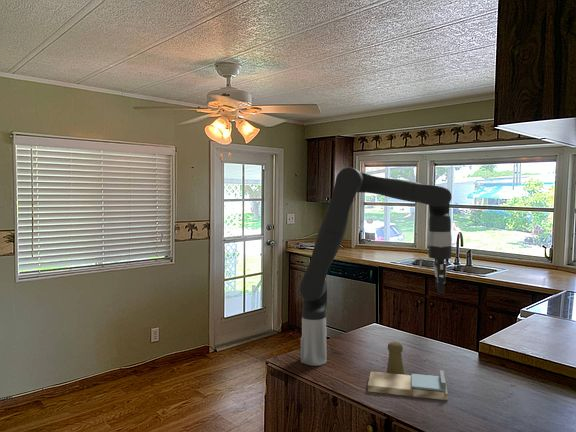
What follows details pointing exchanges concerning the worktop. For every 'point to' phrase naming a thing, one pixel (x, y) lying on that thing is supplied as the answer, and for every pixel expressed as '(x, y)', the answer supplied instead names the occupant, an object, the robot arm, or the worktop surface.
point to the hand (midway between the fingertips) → (440, 290)
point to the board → (400, 386)
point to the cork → (395, 358)
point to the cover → (429, 382)
